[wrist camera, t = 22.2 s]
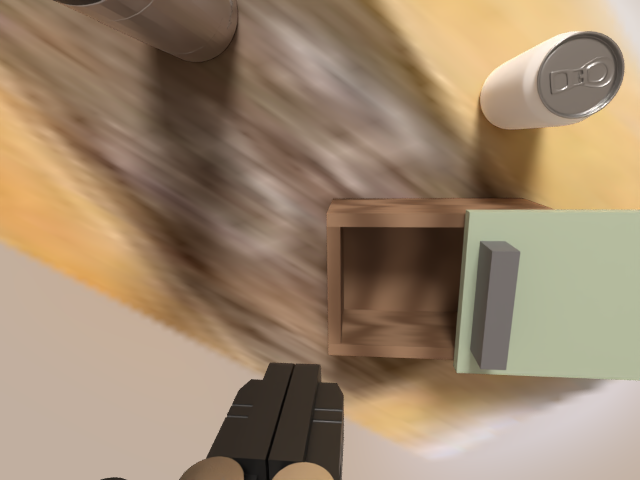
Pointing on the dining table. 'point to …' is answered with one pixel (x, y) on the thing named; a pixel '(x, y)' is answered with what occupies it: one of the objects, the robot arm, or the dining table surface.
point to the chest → (398, 273)
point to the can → (554, 82)
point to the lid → (550, 294)
